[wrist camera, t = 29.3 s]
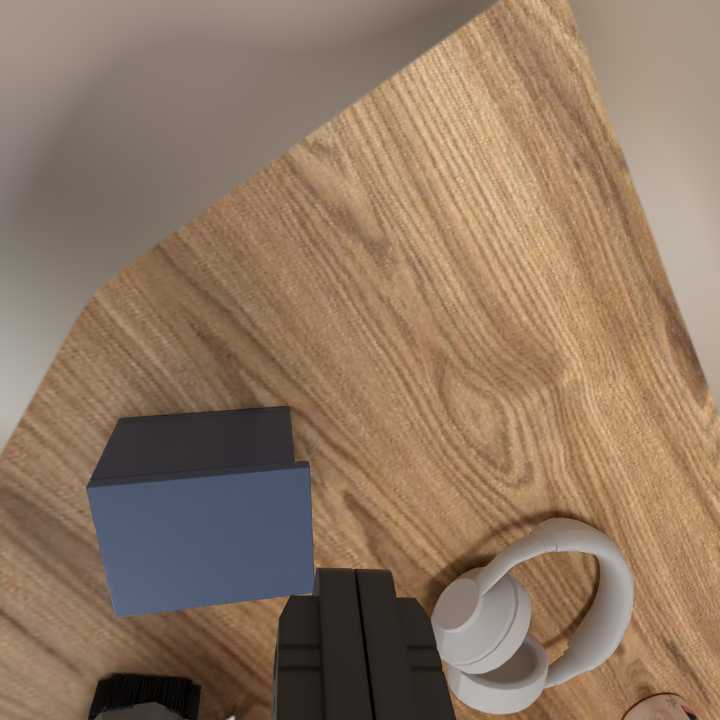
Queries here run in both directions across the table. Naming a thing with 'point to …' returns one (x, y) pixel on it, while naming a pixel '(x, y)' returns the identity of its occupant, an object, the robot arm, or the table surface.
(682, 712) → the teacup with lid
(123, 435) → the chest
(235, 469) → the lid
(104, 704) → the cpu cooler
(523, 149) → the table surface
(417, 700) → the robot arm
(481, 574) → the headphones
